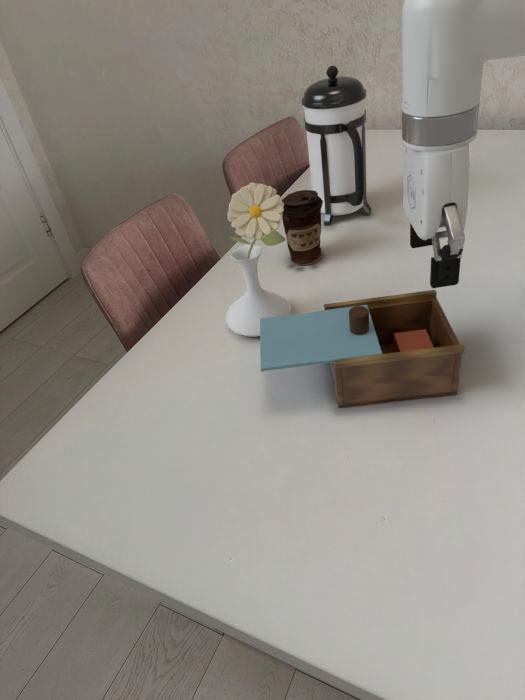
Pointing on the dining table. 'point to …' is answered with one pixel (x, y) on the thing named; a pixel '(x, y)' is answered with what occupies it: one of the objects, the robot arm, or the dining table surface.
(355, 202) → the coffee press
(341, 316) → the sliding box lid
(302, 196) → the coffee cup
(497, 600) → the dining table surface
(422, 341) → the block
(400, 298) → the wooden box
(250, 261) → the flower in vase
